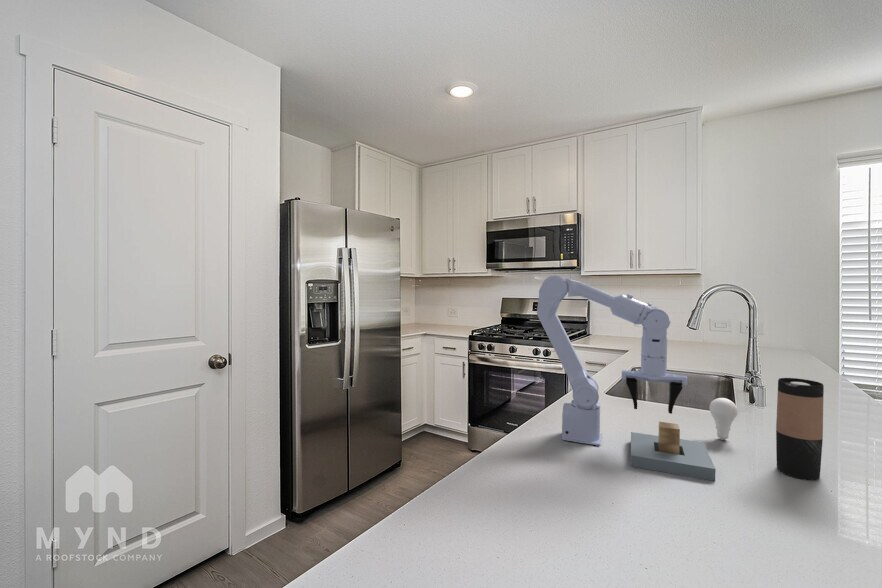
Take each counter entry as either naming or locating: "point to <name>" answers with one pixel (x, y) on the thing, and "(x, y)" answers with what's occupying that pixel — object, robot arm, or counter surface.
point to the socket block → (672, 457)
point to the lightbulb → (723, 415)
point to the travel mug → (799, 428)
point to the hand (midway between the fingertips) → (652, 410)
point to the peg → (669, 438)
